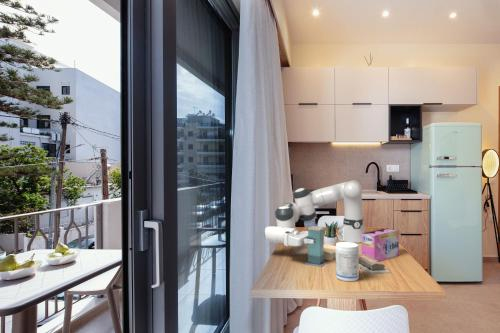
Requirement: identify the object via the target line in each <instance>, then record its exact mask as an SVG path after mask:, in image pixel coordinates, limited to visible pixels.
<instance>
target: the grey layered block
mask: <svg viewBox="0 0 500 333" xmlns="http://www.w3.org/2000/svg"><path fill="white" fill-rule="evenodd" d="M385 267H386V265H385V264H384V263H382V262H381V261H377V260H376V259H374V258H372V257H370V256H369V255H366V254H362V253H361V254H359V270H360V269H361V271H363V272H365V273H366V274H369V275H380V274H381V275H382V274H390V271H389V270H388V269H387V268H385Z"/></svg>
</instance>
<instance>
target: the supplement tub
mask: <svg viewBox="0 0 500 333" xmlns="http://www.w3.org/2000/svg"><path fill="white" fill-rule="evenodd" d="M335 246H336V258H335V275H336V276H335V277H336V278H337V279H338V280H340V281H344V282H357V281H358V280H359V277H360V275H359V274H360V271H359V270H360V267H359V255H360V254H359V252H360V251H359V244H358V243H353V242H345V241H340V242H339V241H338V242H336V243H335Z"/></svg>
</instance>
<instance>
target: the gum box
mask: <svg viewBox="0 0 500 333" xmlns="http://www.w3.org/2000/svg"><path fill="white" fill-rule="evenodd" d="M399 236H400V235H399V229H397V230H393V229H390V228H387V227H386V228H381V229H377V230H372V231H368V232H366V231H365V233H362V242H361V254H366V255H369V256H370V257H372V258H374V259H376V260H377V261H379V262H381V261H385V260H388V259H392V258H394V257H398V256H400V237H399Z"/></svg>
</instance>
